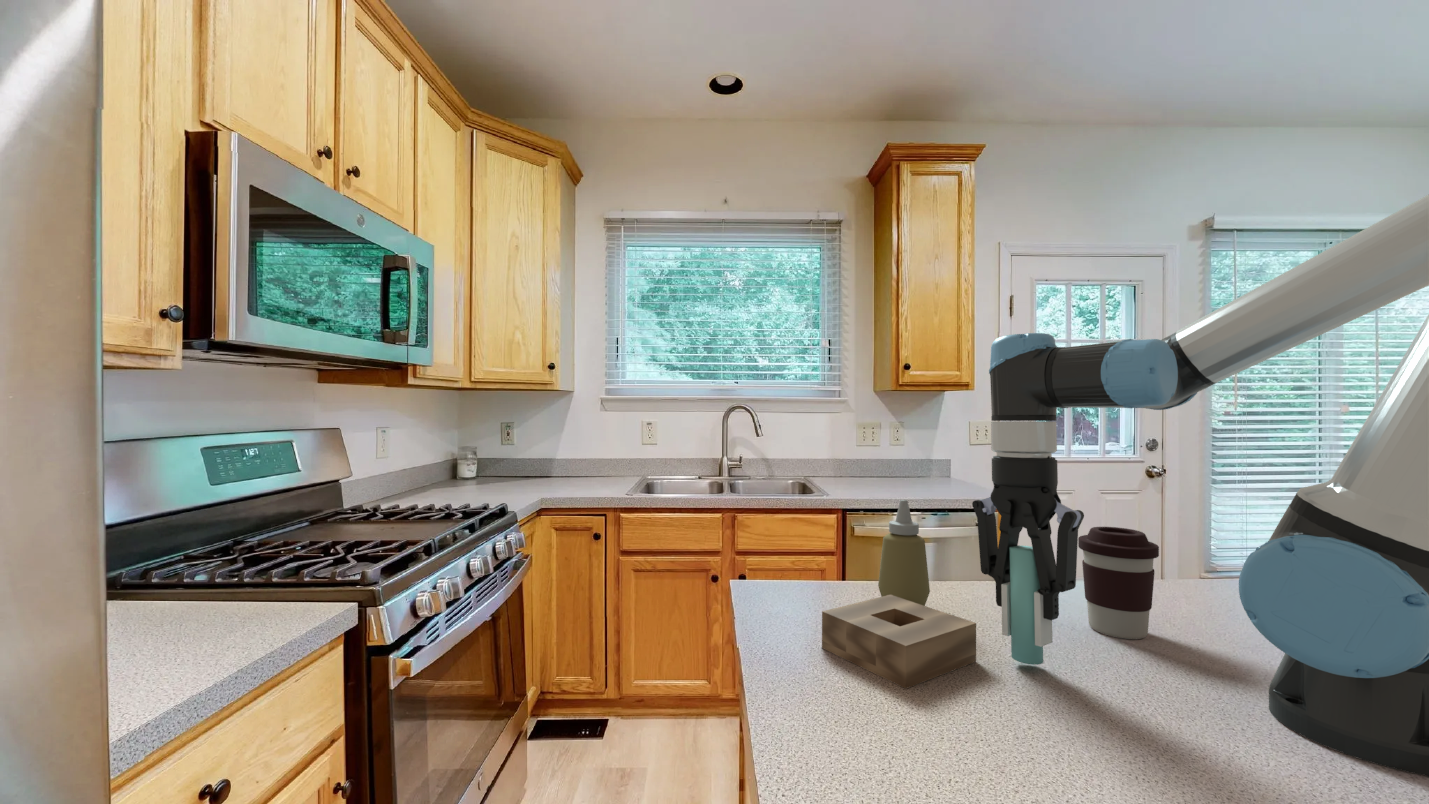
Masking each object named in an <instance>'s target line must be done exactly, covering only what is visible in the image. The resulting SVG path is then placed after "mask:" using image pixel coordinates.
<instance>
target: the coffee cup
mask: <svg viewBox="0 0 1429 804" xmlns="http://www.w3.org/2000/svg"><path fill="white" fill-rule="evenodd" d="M1077 547H1078V548H1079V549H1080V550H1082V552H1083V560H1081V561H1082V573H1083V575H1082V576H1083V585H1084V587H1083V588H1084V596H1085V597H1084V598H1085V600H1086V603H1087V606H1086V607H1087V616H1088V624H1089V627H1090V628H1091V629H1092V630H1093V631H1095V632H1098V633H1100V634H1103V635H1106V636H1109V637H1113V638H1119V639H1126V640H1140V639H1145V638H1146V637H1148V634H1149V633H1148V632H1149V621H1150V612H1151V609H1152V607H1153V594H1154V582H1155V569H1154V559H1157V558H1158V557H1159V556H1160V553H1159V552H1160V547H1159V545H1158V544H1156V543H1154V542H1152V541H1149V539H1148V537H1147V535H1146V534H1145V532H1143V531H1140V530H1136V529H1131V528H1124V527H1115V526H1093V527H1091V528H1090V529H1089V531H1088V533H1087V534H1084V535H1080V536H1078V544H1077Z"/></svg>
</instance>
